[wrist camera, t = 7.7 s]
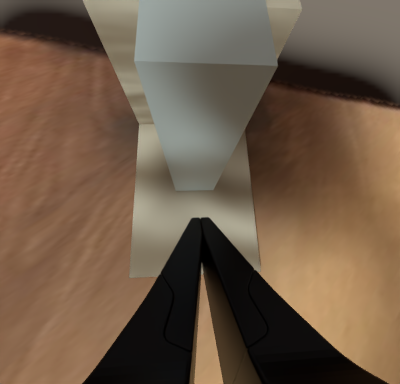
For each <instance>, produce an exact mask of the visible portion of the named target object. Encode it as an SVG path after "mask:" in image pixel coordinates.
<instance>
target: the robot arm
mask: <svg viewBox="0 0 400 384" xmlns="http://www.w3.org/2000/svg"><path fill="white" fill-rule="evenodd" d="M202 268H203V274H204V279H205V285H206V290H207V296H208V301H209V306H210V312H211V317H212V323H213V328H214V334H215V339H216V345H217V350H218V356H219V361H220V367H221V372H222V378H223V383H224V384H388V383H387V382H385V381H383V380H381V379H380V378H378V377H376V376H374V375H373V374H371V373H369V372H367V371H366V370H364V369H362V368H361V367H359V366H358V365H356V364H355V363H353V362H352V361H351V360H349V359H348V358H347V357H345V356H344V355H343V354H342V353H340V352H339V351H338V350H337V349H335V348H334V347H333V346H332V345H331V344H330V343H329V342H328V341H327V340H326V339H325V338H323V337H322V336H321V335H320V334H319V333H318V332H317V331H316V330H315V329H314V328H313V327H312V326H311V325H310V324H309V323H308V322H307V321H306V320H304V319H303V318H302V317H301V316H300V315H299V314H298V313H297V312H296V311H295V310H294V309H293V308H292V307H291V306H290V305H289V304H288V303H287V302H286V301H285V300H284V299H283V298H282V297H281V296H279V295H278V294H277V293H276V292H275V291H274V290H273V288H272V287H271V286H270V285H269V284H268V283H267V282H266V281H265V280H264V279H263V278H262V277H261V275H260V274H259V273H258V272H257V271H256V270H254V268H253V266H252V265H251V264H250V263H249V262H248V261H247V260H246V258H245V257H244V256H243V255H242V254H241V253H240V252H239V251H238V249H237V248H236V247H235V246H234V245H233V244H232V243H231V241H230V240H229V239H228V238H227V237H226V236H225V235H224V234H223V232H222V231H221V230H220V229H219V228H218V227H217V226H216V224H215V223H214V222H213V221H212V220H211V219H210V218H209V217H201V219H200V218H199V217H194V218H191V220H190V221H189V223H188V225H187V227H186V228H185V230H184V232H183V234H182V235H181V237H180V239H179V241H178V243H177V244H176V246H175V248H174V250H173V251H172V253H171V255H170V257H169V258H168V260H167V262H166V264H165V265H164V267H163V269H162V271H161V273H160V274H159V276H158V278H157V279H156V281H155V283H154V285H153V286H152V288H151V290H150V291H149V293H148V294H147V296H146V298H145V299H144V301H143V302H142V304H141V305H140V306H139V308H138V309H137V311H136V312H135V314H134V315H133V317H132V318H131V319H130V321H129V322H128V323H127V325H126V326H125V328H124V329H123V330H122V332H121V333H120V335H119V336H118V337H117V339H116V340H115V342H114V343H113V344H112V346H111V347H110V348H109V350H108V351H107V353H106V354H105V355H104V357H103V358H102V360H101V361H100V362H99V364H98V365H97V366H96V368H95V369H94V370H93V371H92V373H91V374H90V375H89V376H88V378H87V379H86V380H85V381H84V382H83V383H82V384H194V378H195V363H196V347H197V331H198V316H199V300H200V285H201V269H202Z"/></svg>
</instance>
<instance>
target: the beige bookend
mask: <svg viewBox="0 0 400 384" xmlns="http://www.w3.org/2000/svg"><path fill="white" fill-rule="evenodd" d="M83 2H84V4H85V6H86V9H87V11H88V13H89V15H90V17H91V20H92V22H93V24H94V26H95V28H96V30H97V33H98V35H99V37H100V39H101V41H102V43H103V46H104V48H105V50H106V52H107V55H108V57H109V59H110V61H111V63H112V65H113V68H114V70H115V72H116V74H117V76H118V79H119V81H120V83H121V85H122V87H123V90H124V92H125V94H126V96H127V98H128V100H129V103H130V105H131V107H132V109H133V111H134V114H135V116H136V118H137V120H138V122H139V137H138V152H137V167H136V182H135V197H134V212H133V227H132V242H131V257H130V272H129V278H138V277H158V276H159V274H160V273H161V271H162V269H163V267H164V265H165V264H166V262H167V260H168V258H169V257H170V255H171V253H172V251H173V250H174V248H175V246H176V244H177V243H178V241H179V239H180V237H181V235H182V234H183V232H184V230H185V228H186V227H187V225H188V223H189V221H190V220H191V218H194V217H199V218H200V219H201V217H209V218H210V219H211V220H212V221H213V222H214V223H215V224H216V226H217V227H218V228H219V229H220V230H221V231H222V232H223V234H224V235H225V236H226V237H227V238H228V239H229V240H230V241H231V243H232V244H233V245H234V246H235V247H236V248H237V249H238V251H239V252H240V253H241V254H242V255H243V256H244V257H245V258H246V260H247V261H248V262H249V263H250V264H251V265H252V266H253V268H254V270H256V271H257V272H261V269H260V260H259V251H258V242H257V233H256V224H255V215H254V206H253V197H252V188H251V179H250V170H249V161H248V152H247V143H246V134H245V130H244V132H243V134H242V136H241V138H240V140H239V142H238V144H237V145H236V147H235V149H234V151H233V153H232V155H231V157H230V159H229V161H228V163H227V165H226V167H225V168H224V170H223V172H222V174H221V176H220V178H219V180H218V182H217V184H216V186H215V188H214V190H198V191H176V190H175V187H174V184H173V181H172V178H171V174H170V171H169V168H168V165H167V162H166V159H165V156H164V153H163V149H162V146H161V143H160V140H159V137H158V134H157V131H156V128H155V125H154V121H153V118H152V115H151V112H150V109H149V106H148V103H147V100H146V96H145V93H144V90H143V87H142V84H141V81H140V78H139V75H138V72H137V68H136V65H135V62H134V56H135V45H136V33H137V21H138V9H139V0H83ZM266 5H267V10H268V15H269V21H270V26H271V31H272V37H273V42H274V47H275V53H276V58H277V59H278V57H279V55H280V53H281V51H282V49H283V46H284V45H285V43H286V41H287V39H288V37H289V35H290V33H291V31H292V28H293V27H294V25H295V23H296V20H297V19H298V17H299V14H300V13H301V10H302V7H301V3H300V0H266ZM201 274H203V268H202V269H201Z"/></svg>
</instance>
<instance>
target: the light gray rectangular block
mask: <svg viewBox="0 0 400 384" xmlns="http://www.w3.org/2000/svg"><path fill="white" fill-rule="evenodd" d="M134 62H135V65H136V68H137V72H138V75H139V78H140V81H141V84H142V87H143V90H144V93H145V96H146V100H147V103H148V106H149V109H150V112H151V115H152V118H153V121H154V125H155V128H156V131H157V134H158V137H159V140H160V143H161V146H162V149H163V153H164V156H165V159H166V162H167V165H168V168H169V171H170V174H171V178H172V181H173V184H174V187H175V190H176V191H198V190H214V188H215V186H216V184H217V182H218V180H219V178H220V176H221V174H222V172H223V170H224V168H225V167H226V165H227V163H228V161H229V159H230V157H231V155H232V153H233V151H234V149H235V147H236V145H237V144H238V142H239V140H240V138H241V136H242V134H243V132H244V130H245V128H246V126H247V124H248V122H249V120H250V119H251V117H252V115H253V113H254V111H255V109H256V107H257V105H258V103H259V101H260V99H261V97H262V95H263V94H264V92H265V90H266V88H267V86H268V84H269V82H270V80H271V78H272V76H273V74H274V72H275V70H276V69H277V67H278V64H277V58H276V53H275V47H274V42H273V37H272V31H271V26H270V21H269V15H268V10H267V5H266V0H139V9H138V21H137V33H136V45H135V56H134Z"/></svg>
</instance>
